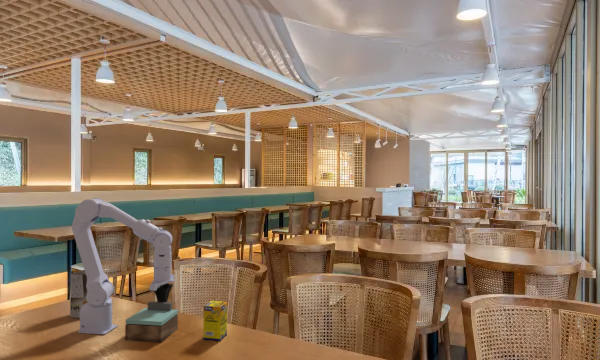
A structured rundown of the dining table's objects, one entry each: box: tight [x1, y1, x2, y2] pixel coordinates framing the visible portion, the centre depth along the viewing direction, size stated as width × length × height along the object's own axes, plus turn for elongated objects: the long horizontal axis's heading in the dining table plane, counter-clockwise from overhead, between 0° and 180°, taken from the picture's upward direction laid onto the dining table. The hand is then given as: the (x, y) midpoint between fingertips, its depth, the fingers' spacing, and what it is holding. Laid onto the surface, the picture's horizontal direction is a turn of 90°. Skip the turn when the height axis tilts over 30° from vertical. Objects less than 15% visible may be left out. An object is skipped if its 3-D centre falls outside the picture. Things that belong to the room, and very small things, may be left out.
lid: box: [125, 301, 179, 326], centre depth 137 cm, size 12×12×4 cm
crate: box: [124, 314, 179, 344], centre depth 137 cm, size 12×12×5 cm
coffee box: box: [69, 269, 88, 319], centre depth 156 cm, size 9×6×16 cm
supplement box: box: [202, 300, 228, 342], centre depth 135 cm, size 6×6×11 cm
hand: (162, 306), depth 144 cm, fingers closed
